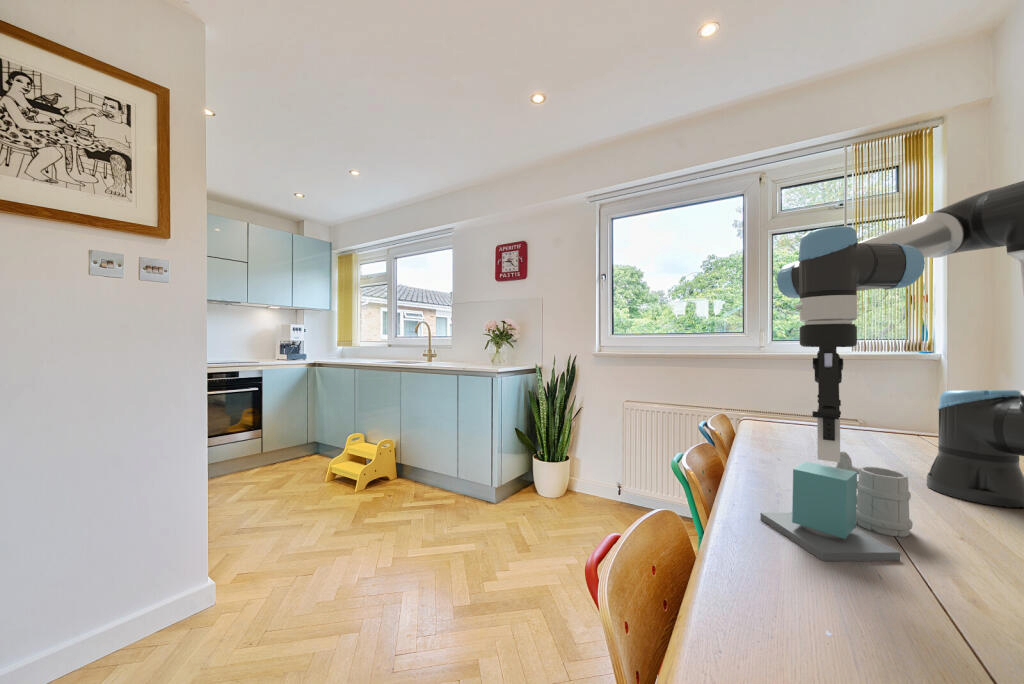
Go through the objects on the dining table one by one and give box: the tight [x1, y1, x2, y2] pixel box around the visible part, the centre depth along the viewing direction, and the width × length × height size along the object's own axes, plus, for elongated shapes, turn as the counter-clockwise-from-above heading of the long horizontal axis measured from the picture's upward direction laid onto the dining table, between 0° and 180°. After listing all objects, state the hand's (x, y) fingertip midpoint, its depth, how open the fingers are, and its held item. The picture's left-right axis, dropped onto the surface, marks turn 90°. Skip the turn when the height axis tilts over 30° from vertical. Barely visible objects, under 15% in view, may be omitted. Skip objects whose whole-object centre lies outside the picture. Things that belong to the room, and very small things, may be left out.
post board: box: [760, 512, 901, 562], centre depth 67 cm, size 12×14×8 cm
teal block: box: [791, 461, 858, 539], centre depth 67 cm, size 7×7×9 cm
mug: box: [835, 450, 913, 538], centre depth 73 cm, size 8×12×12 cm, turn 28°
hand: (827, 450), depth 67 cm, fingers open, 13 cm apart
